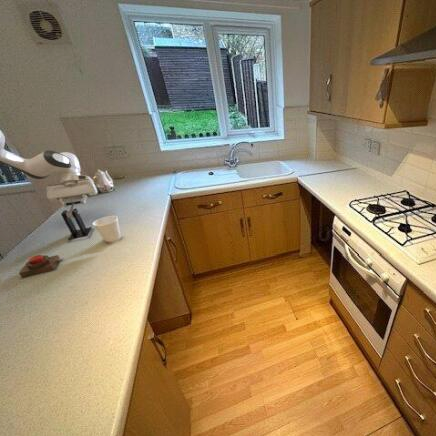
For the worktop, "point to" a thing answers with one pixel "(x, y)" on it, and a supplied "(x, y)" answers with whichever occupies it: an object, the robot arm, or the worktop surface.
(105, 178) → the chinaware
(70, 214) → the lever
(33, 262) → the button
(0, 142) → the robot arm
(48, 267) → the button block
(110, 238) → the cup
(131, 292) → the worktop surface
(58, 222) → the worktop surface
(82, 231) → the bracket
